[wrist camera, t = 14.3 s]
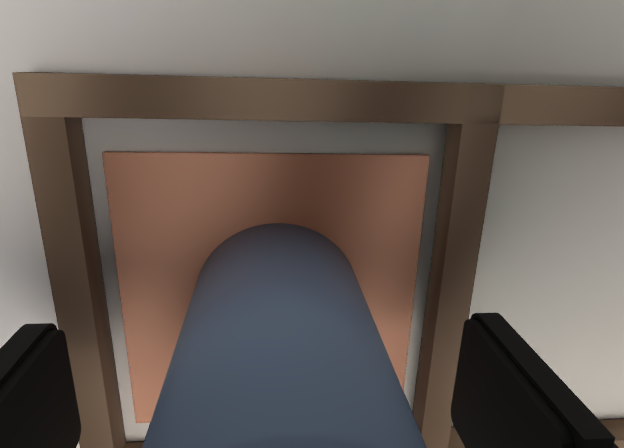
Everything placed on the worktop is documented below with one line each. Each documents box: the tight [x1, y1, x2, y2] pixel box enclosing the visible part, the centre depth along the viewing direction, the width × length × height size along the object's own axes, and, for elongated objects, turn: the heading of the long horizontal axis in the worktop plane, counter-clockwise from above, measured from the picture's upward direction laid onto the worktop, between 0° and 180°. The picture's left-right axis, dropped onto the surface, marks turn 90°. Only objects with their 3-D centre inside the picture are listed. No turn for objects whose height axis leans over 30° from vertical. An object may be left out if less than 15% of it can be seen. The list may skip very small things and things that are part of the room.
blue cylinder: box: [142, 223, 427, 448], centre depth 10 cm, size 5×5×8 cm
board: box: [13, 72, 624, 448], centre depth 15 cm, size 34×13×1 cm, turn 89°
